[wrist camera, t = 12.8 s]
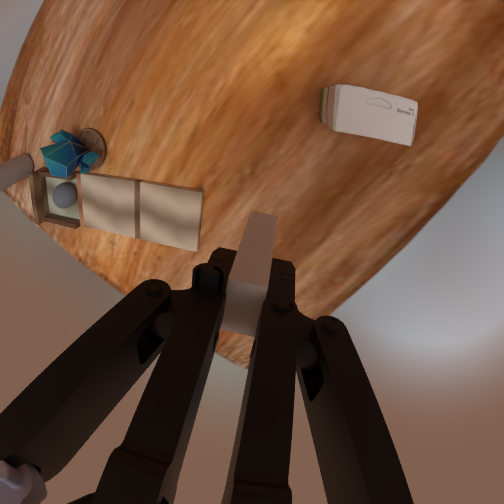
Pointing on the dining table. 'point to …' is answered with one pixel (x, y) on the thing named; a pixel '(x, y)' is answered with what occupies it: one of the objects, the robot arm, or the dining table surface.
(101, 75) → the dining table surface
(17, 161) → the beverage can
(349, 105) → the ink box
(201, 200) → the lane
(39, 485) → the robot arm
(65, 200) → the ball
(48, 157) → the gemstone
